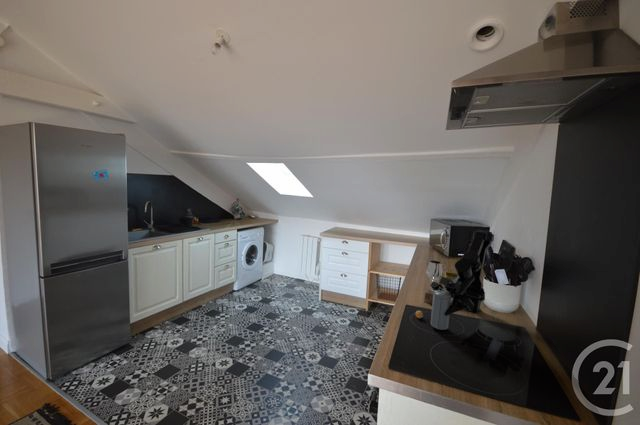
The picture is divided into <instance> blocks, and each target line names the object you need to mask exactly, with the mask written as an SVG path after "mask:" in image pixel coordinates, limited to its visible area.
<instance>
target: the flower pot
mask: <svg viewBox="0 0 640 425" xmlns="http://www.w3.org/2000/svg"><path fill="white" fill-rule="evenodd" d="M444 277H445V278H447V279H449V280H451V279H452V278H453V279H455V278H456V277H457V272H456V273H455V272H448V271H444Z"/></svg>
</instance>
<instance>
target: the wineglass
mask: <svg viewBox="0 0 640 425" xmlns="http://www.w3.org/2000/svg"><path fill="white" fill-rule="evenodd" d="M425 272H426V275H427V276H428V278H429V279H430V280H431V283H432V282H436V281H437V280H439V279H441V278H442V276H443V266H442V262H441V261H438V260H429V261H428V264H427V266H426V271H425ZM430 290H431V291H434V290H433V288H432V287H431V289H430Z"/></svg>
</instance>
